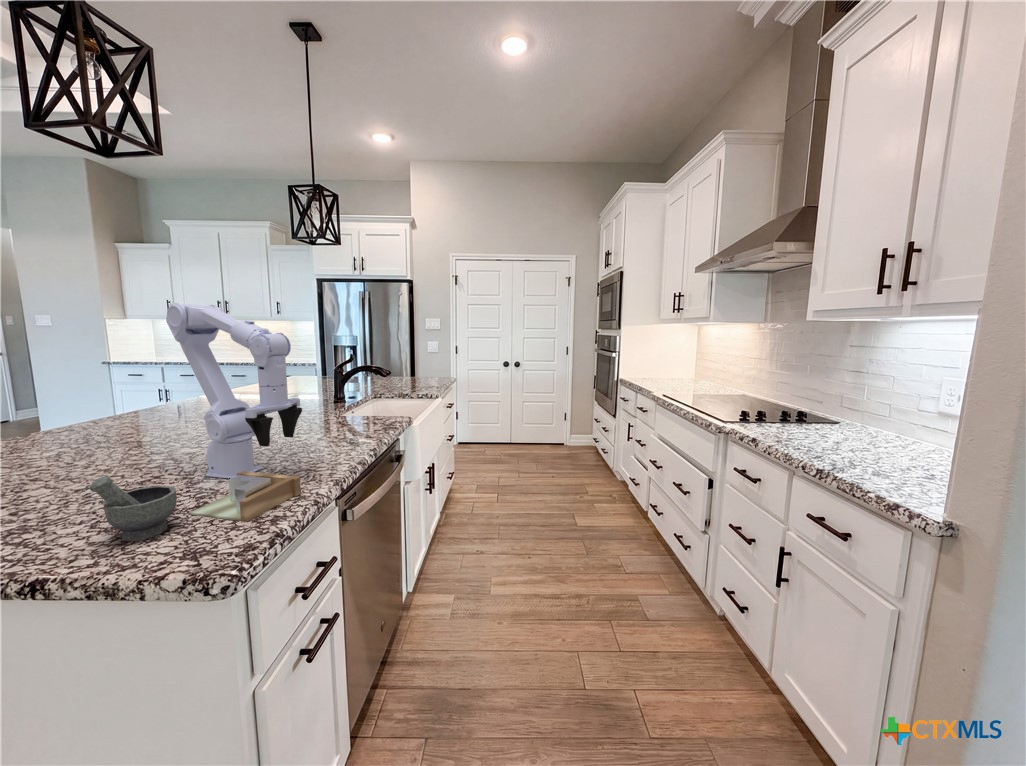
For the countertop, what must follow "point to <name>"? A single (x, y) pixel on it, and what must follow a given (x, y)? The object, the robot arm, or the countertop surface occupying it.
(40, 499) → the countertop surface
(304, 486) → the countertop surface
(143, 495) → the mortar and pestle
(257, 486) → the bracket
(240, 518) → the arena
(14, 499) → the countertop surface
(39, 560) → the countertop surface
